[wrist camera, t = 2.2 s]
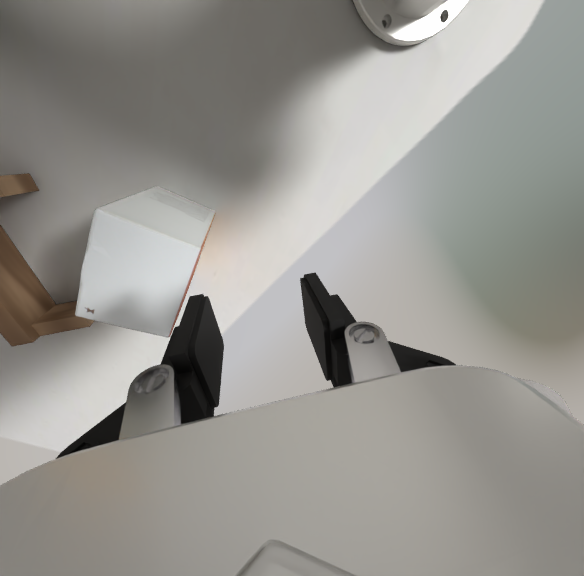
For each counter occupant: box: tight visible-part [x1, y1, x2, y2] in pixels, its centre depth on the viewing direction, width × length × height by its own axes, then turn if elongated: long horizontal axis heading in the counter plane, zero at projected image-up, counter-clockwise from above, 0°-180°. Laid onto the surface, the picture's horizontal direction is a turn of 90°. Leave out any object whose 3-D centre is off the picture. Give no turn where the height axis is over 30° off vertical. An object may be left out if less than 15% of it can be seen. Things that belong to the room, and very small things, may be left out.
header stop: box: [0, 173, 94, 346], centre depth 24 cm, size 7×15×6 cm, turn 7°
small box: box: [75, 186, 216, 337], centre depth 22 cm, size 8×6×13 cm
